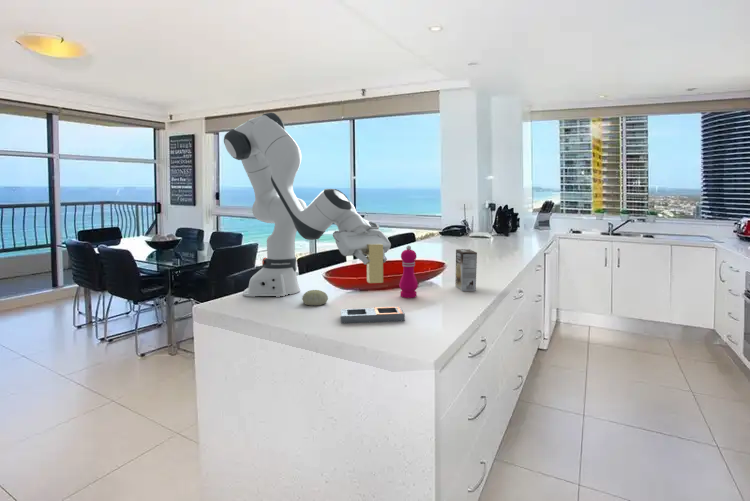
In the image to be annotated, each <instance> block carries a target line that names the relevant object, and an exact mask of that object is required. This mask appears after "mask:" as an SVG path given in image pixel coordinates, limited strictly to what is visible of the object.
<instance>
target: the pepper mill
mask: <svg viewBox="0 0 750 501" xmlns="http://www.w3.org/2000/svg"><path fill="white" fill-rule="evenodd" d="M400 259H401V260H402V264H401V265H402V267H403V273H402V276H401V277H400V280H399V285H398V286H399V289H400V290H401V291H400V297H401V298H404V299H413V298H416V297H417V293H418V292H417V291H416V290H417V289H418V288H419V287H418V286H419V285H418V279H417V277H416V274H415V270H414V269H415V266H416V262H415V261H416V259H417V253H416V251H415V250H413V249H412V246H410V245H406V249H404V250H403V251H402V252H401V254H400Z"/></svg>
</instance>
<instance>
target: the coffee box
mask: <svg viewBox="0 0 750 501" xmlns="http://www.w3.org/2000/svg"><path fill="white" fill-rule="evenodd" d="M477 263H478V252H477V251H474V250H472V249H469V248H468V249H466V248H465V249H463V248H461V249H459V248H457V249H455V287H456V288H457V289H458V290H460V291H461V292H474V291H477V270H478V269H477V268H478V267H477V266H478V265H477Z"/></svg>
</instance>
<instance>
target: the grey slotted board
mask: <svg viewBox="0 0 750 501" xmlns="http://www.w3.org/2000/svg"><path fill="white" fill-rule="evenodd" d="M405 314H406V313H405V311H403V309H402V307H401V306H380V307H379V306H378V307H377V306H376V307H375V306H374V307H369V308H368V307H365V308H364V307H363V308H341V309H340V323H341V324H367V323H369V324H370V323H392V322H393V323H394V322H395V323H396V322H406V319H405V317H406V315H405Z"/></svg>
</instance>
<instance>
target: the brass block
mask: <svg viewBox="0 0 750 501" xmlns="http://www.w3.org/2000/svg"><path fill="white" fill-rule="evenodd" d="M367 247H368V249H367V254H366V257H368V258H369V259H370V262H369V264H366V282H367V283H368V284H382V283H383V284H384V262H383V244H367Z"/></svg>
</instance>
